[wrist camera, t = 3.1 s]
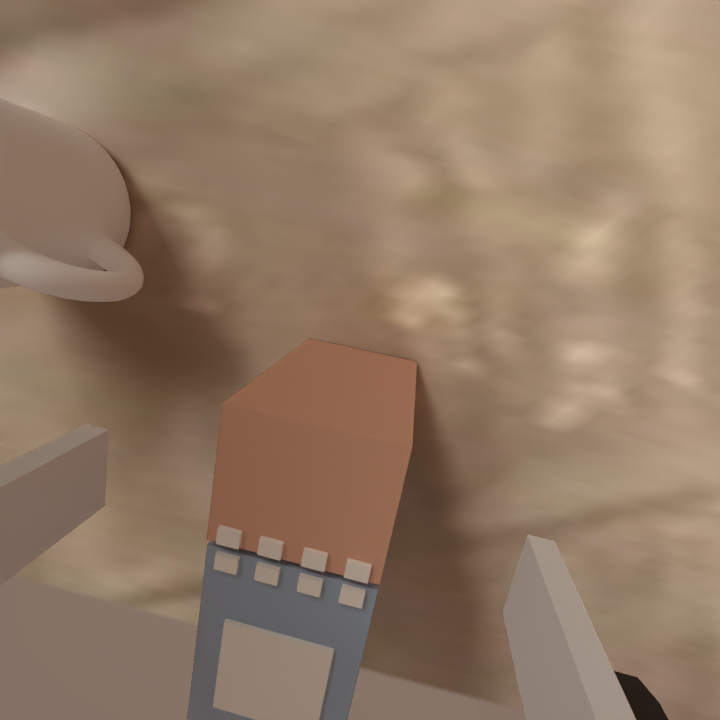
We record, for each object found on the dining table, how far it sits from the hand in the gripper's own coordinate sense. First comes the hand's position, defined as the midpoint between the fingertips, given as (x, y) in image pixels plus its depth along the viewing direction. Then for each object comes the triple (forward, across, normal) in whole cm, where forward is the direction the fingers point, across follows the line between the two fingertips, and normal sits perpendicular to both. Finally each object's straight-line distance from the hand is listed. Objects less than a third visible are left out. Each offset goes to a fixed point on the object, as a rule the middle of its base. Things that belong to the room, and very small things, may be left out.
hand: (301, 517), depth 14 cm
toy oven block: (+12, 0, -6) cm, 14 cm away
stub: (+12, 0, 0) cm, 12 cm away
